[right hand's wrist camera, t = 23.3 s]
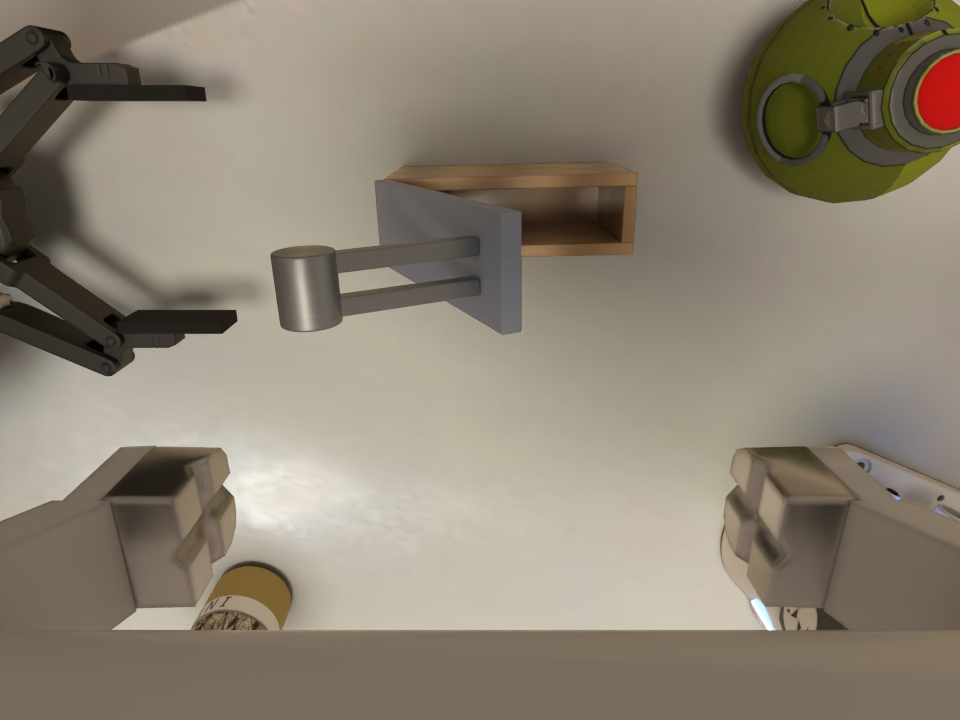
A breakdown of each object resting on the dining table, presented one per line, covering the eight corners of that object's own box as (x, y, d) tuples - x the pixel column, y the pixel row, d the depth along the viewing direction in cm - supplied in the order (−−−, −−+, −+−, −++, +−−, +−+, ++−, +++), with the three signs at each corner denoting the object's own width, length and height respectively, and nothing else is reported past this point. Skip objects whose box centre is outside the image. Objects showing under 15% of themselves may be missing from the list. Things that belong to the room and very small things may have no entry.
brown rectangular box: (607, 161, 44) (638, 172, 35) (604, 228, 46) (633, 254, 37) (401, 166, 44) (383, 179, 36) (405, 233, 46) (389, 260, 37)
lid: (522, 210, 23) (277, 234, 19) (522, 331, 24) (296, 373, 21) (389, 179, 35) (226, 190, 32) (395, 261, 37) (240, 279, 34)
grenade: (892, -26, 40) (1116, -103, 26) (896, 166, 44) (1090, 191, 30) (698, 28, 41) (812, -17, 27) (720, 210, 45) (828, 254, 31)
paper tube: (304, 579, 57) (182, 904, 33) (277, 632, 59) (143, 971, 36) (232, 550, 56) (52, 865, 32) (206, 605, 58) (21, 937, 34)
